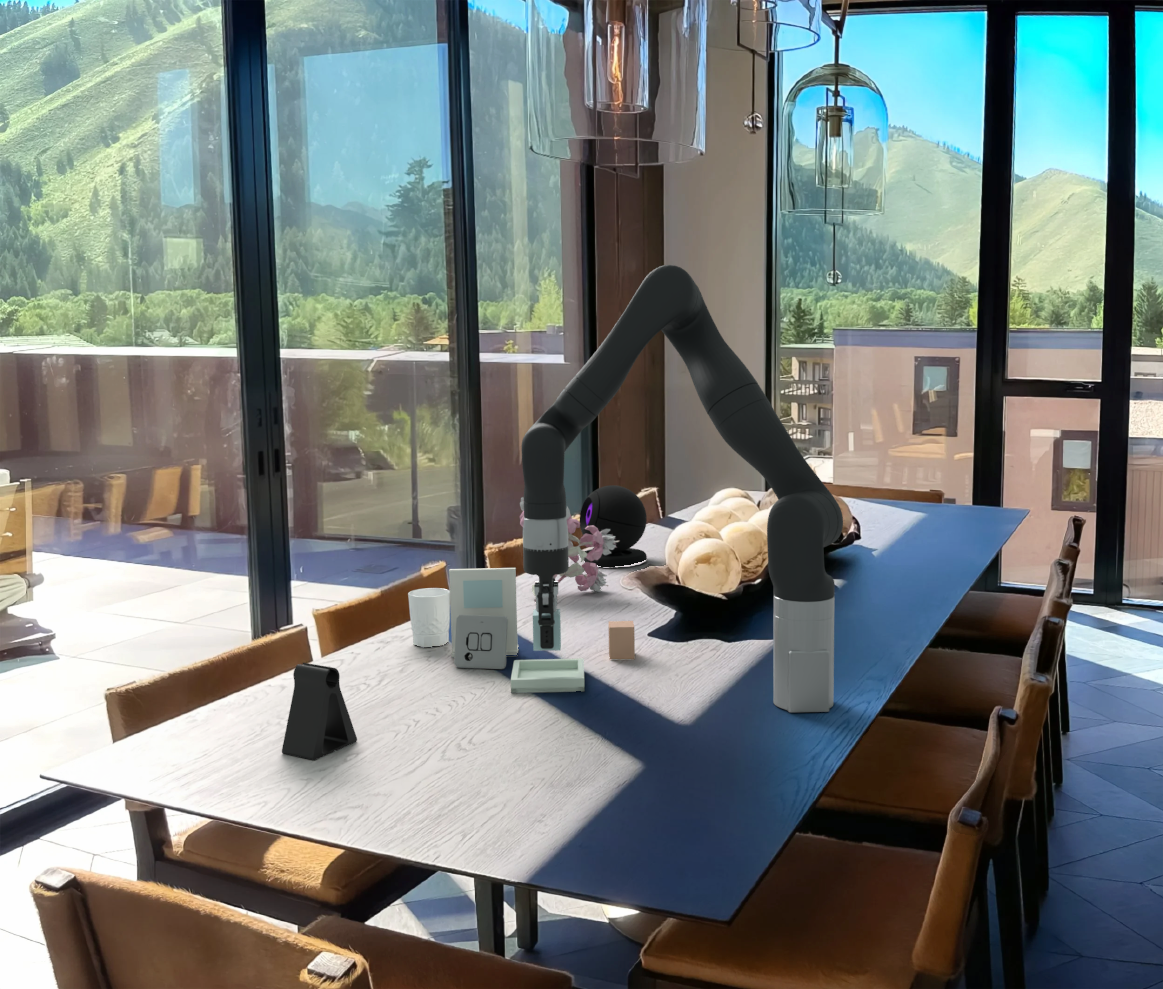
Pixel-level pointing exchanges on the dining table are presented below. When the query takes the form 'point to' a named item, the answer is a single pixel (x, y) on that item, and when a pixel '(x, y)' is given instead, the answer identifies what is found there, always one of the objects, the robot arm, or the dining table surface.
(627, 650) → the terracotta block
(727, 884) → the dining table surface
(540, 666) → the tray
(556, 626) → the blue block
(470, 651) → the electrical switch
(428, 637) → the white cup
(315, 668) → the black triangular stand
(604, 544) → the flower
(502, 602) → the placard
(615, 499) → the webcam
